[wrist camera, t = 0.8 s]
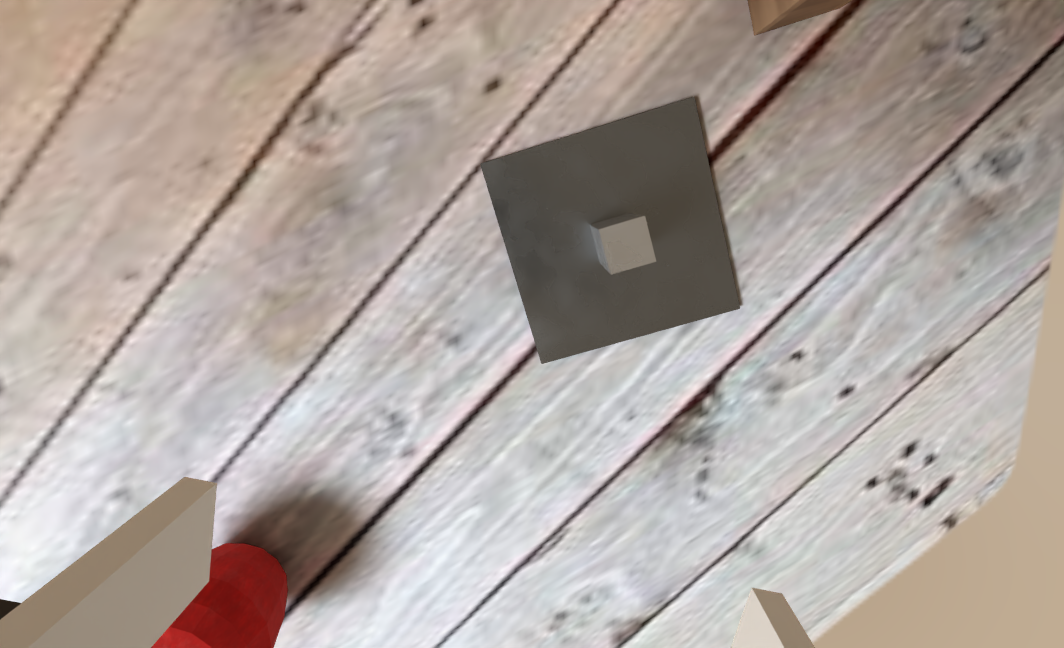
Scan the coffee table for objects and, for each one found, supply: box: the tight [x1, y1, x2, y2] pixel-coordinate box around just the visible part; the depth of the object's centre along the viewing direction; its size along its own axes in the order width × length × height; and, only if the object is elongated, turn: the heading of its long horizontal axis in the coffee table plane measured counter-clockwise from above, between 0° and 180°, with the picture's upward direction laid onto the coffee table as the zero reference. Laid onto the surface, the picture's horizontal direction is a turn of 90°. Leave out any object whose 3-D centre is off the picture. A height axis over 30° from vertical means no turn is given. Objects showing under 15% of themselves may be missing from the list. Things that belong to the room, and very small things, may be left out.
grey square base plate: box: [480, 97, 740, 364], centre depth 33 cm, size 14×14×6 cm
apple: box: [151, 543, 288, 648], centre depth 37 cm, size 10×10×11 cm
